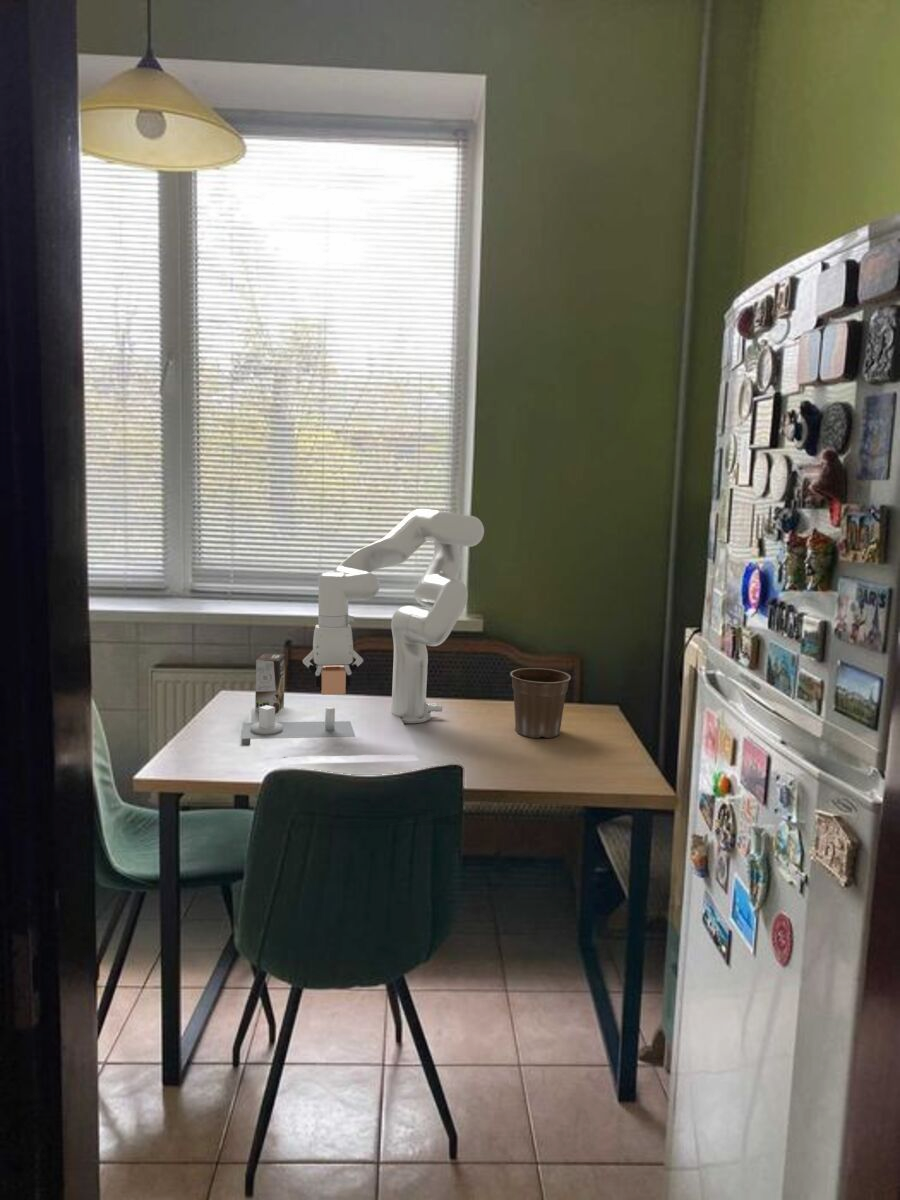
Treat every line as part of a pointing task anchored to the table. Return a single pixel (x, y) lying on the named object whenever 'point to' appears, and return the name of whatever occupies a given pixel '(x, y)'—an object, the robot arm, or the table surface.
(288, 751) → the table surface
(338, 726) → the hub board
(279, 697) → the coffee box
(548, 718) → the plant pot
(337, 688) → the collar
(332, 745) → the table surface
